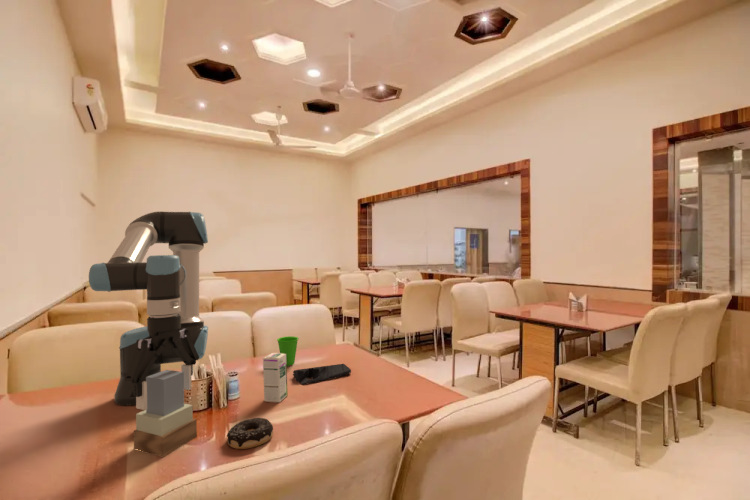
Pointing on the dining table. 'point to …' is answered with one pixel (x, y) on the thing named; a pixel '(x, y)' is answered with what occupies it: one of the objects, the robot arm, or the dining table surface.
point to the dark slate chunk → (320, 373)
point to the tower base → (165, 439)
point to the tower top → (163, 421)
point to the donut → (250, 433)
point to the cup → (288, 348)
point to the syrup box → (275, 377)
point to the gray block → (165, 392)
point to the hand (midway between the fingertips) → (165, 398)
